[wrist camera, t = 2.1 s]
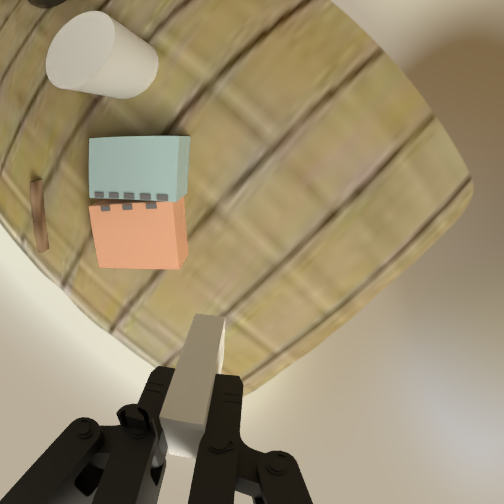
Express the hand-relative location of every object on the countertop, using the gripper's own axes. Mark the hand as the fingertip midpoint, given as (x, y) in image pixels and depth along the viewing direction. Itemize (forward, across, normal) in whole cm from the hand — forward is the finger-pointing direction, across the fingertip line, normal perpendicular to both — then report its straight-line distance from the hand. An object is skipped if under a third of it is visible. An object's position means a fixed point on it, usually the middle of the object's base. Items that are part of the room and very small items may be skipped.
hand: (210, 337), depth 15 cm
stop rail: (+23, -31, -1) cm, 38 cm away
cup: (+23, -16, +19) cm, 33 cm away
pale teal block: (+23, -12, +7) cm, 26 cm away
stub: (+23, -12, -1) cm, 26 cm away
